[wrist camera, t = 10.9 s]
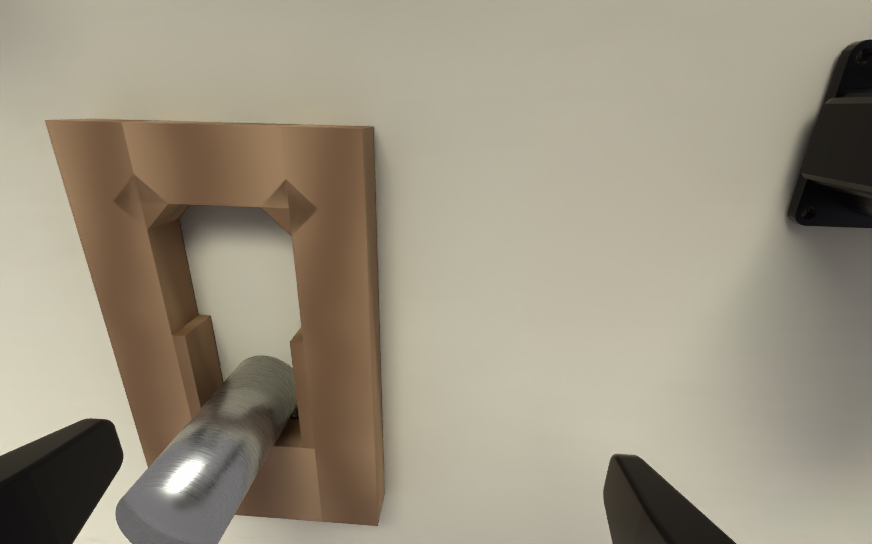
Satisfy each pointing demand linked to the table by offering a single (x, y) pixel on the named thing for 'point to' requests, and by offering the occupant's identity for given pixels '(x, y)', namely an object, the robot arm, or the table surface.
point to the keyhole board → (193, 334)
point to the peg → (211, 459)
